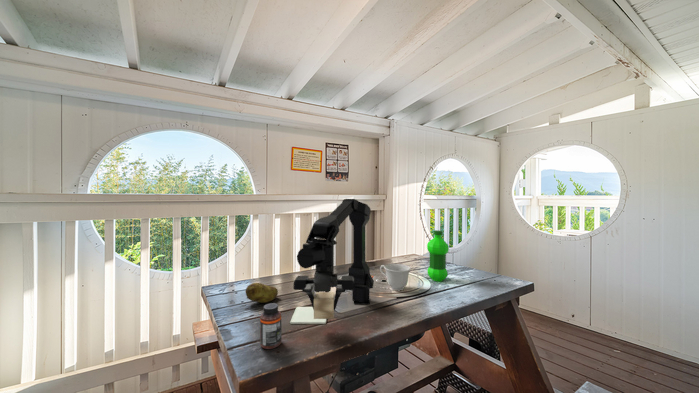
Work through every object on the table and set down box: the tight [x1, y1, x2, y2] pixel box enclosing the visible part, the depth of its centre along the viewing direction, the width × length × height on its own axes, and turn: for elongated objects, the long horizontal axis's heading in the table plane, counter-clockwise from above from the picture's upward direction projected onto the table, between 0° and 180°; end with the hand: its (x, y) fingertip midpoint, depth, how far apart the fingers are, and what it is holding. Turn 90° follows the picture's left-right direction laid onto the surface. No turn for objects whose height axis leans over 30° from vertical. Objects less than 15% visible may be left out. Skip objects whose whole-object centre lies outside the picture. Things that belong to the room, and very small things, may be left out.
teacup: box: [379, 263, 412, 292], centre depth 124 cm, size 12×15×10 cm
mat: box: [289, 306, 328, 325], centre depth 96 cm, size 12×12×1 cm
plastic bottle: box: [426, 229, 450, 283], centre depth 137 cm, size 10×10×25 cm
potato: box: [245, 282, 279, 304], centre depth 108 cm, size 8×13×8 cm, turn 116°
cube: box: [314, 291, 335, 320], centre depth 85 cm, size 6×6×6 cm
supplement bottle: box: [259, 302, 282, 350], centre depth 78 cm, size 6×6×11 cm
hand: (324, 309), depth 85 cm, fingers closed on cube, 6 cm apart
